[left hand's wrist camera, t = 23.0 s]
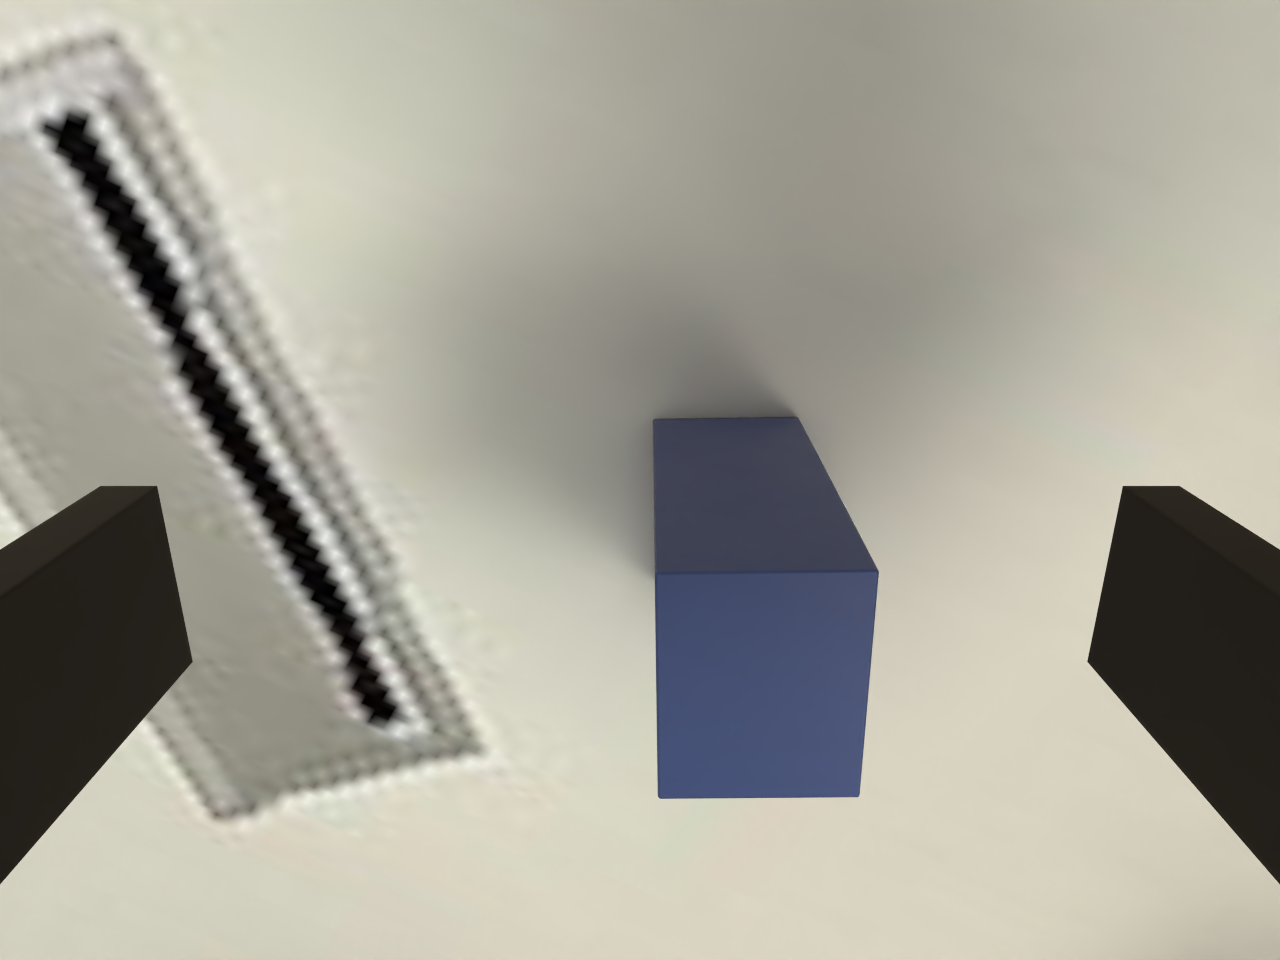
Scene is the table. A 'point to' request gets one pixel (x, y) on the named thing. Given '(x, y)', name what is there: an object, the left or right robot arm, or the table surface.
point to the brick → (757, 615)
